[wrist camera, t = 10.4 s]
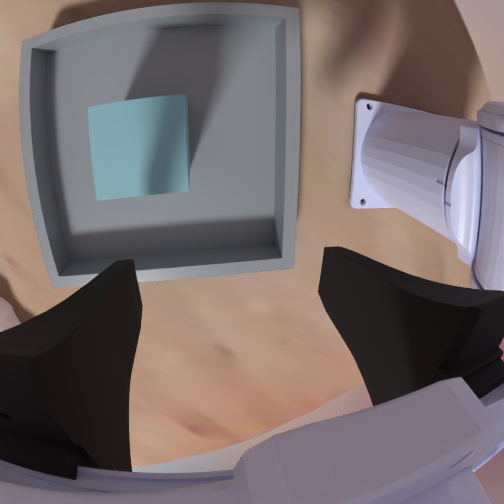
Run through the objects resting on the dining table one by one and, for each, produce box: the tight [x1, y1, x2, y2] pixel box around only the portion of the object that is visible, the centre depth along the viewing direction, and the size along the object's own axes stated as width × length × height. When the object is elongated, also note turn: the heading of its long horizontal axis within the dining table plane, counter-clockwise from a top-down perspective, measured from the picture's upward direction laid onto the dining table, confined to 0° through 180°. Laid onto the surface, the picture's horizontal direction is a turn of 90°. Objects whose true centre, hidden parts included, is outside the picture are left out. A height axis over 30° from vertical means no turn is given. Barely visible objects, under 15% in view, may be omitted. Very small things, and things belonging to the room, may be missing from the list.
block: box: [88, 94, 190, 201], centre depth 13 cm, size 4×4×6 cm
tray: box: [19, 2, 301, 288], centre depth 15 cm, size 16×16×3 cm
